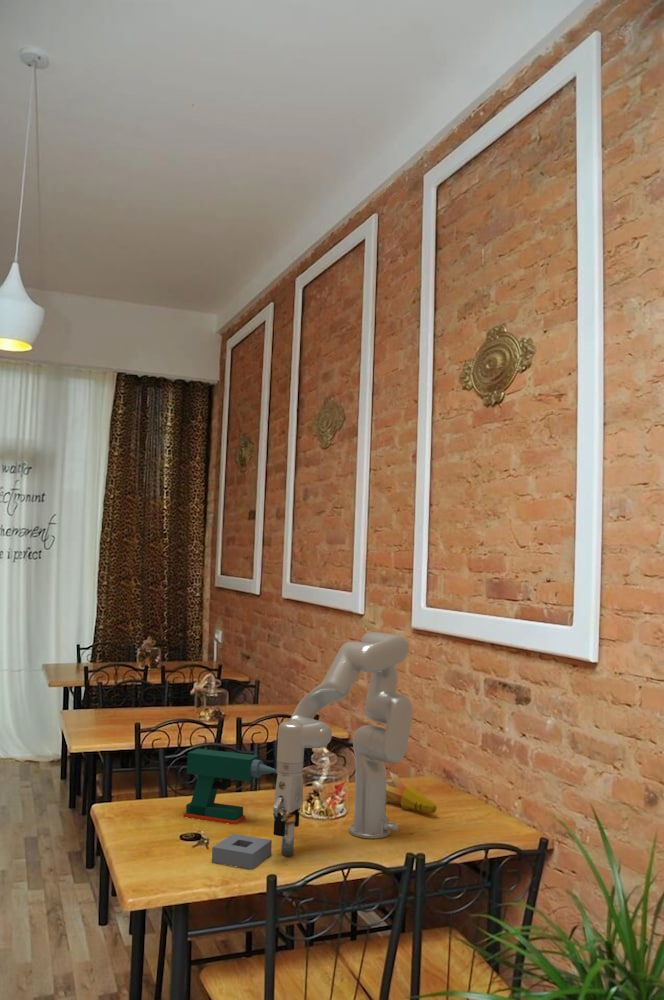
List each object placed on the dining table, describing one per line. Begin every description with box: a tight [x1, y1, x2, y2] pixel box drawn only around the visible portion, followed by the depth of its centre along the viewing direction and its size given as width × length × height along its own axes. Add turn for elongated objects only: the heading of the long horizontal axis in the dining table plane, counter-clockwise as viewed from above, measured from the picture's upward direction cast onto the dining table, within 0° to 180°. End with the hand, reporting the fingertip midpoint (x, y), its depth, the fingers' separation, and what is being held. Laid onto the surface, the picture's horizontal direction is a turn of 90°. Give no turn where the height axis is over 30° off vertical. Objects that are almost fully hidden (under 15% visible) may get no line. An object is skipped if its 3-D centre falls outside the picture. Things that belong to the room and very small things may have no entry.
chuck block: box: [211, 833, 273, 871], centre depth 218 cm, size 12×12×4 cm
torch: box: [386, 771, 437, 814], centre depth 268 cm, size 8×8×25 cm
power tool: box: [183, 748, 277, 826], centre depth 250 cm, size 32×7×20 cm, turn 71°
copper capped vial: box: [280, 812, 295, 858], centre depth 222 cm, size 4×4×11 cm
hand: (286, 830), depth 222 cm, fingers open, 9 cm apart
